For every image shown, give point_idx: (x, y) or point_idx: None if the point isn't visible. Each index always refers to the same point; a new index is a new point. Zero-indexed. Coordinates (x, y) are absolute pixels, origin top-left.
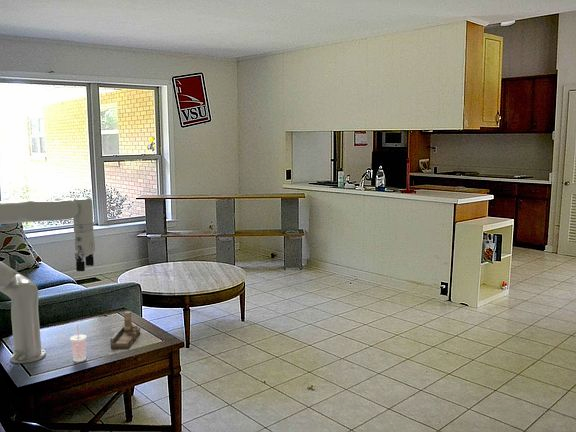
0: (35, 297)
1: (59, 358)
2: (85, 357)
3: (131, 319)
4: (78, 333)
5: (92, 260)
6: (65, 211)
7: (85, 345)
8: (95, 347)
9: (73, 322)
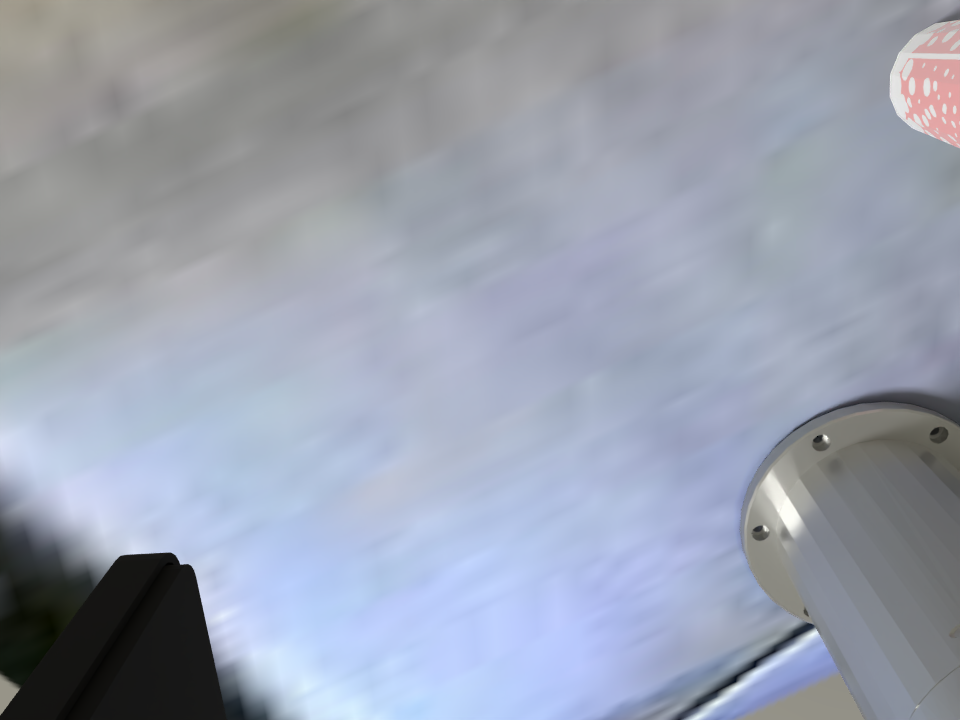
0: None
1: (908, 267)
2: (956, 20)
3: None
4: None
5: (107, 698)
6: None
7: None
8: (664, 53)
9: (84, 534)
